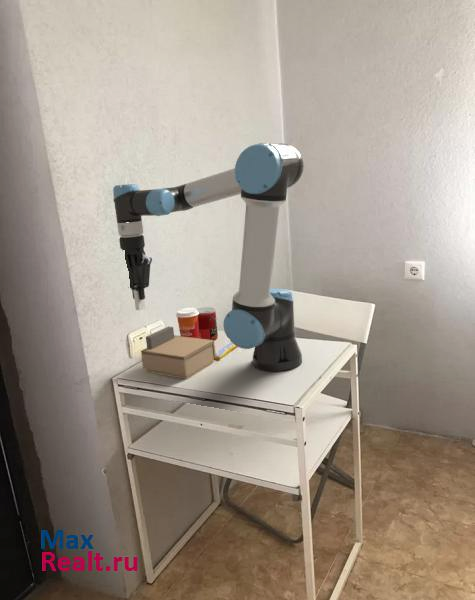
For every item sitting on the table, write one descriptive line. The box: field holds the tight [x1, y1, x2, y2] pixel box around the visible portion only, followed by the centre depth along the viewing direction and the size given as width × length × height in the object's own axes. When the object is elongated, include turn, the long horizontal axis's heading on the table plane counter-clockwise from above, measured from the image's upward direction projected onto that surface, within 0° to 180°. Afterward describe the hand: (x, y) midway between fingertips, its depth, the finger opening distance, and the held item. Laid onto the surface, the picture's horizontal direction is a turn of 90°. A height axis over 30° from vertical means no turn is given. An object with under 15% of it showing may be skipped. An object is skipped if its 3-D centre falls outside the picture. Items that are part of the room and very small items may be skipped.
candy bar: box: [214, 342, 239, 361], centre depth 171 cm, size 17×4×2 cm, turn 152°
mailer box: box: [145, 345, 215, 380], centre depth 160 cm, size 16×14×6 cm
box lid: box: [140, 326, 216, 375], centre depth 159 cm, size 16×16×10 cm
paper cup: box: [175, 307, 199, 338], centre depth 174 cm, size 8×8×14 cm
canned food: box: [196, 306, 219, 341], centre depth 185 cm, size 8×8×11 cm
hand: (140, 309), depth 164 cm, fingers closed
